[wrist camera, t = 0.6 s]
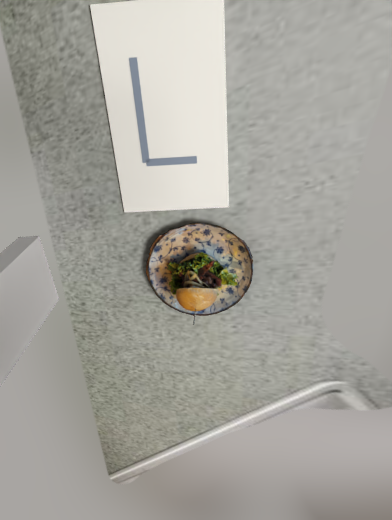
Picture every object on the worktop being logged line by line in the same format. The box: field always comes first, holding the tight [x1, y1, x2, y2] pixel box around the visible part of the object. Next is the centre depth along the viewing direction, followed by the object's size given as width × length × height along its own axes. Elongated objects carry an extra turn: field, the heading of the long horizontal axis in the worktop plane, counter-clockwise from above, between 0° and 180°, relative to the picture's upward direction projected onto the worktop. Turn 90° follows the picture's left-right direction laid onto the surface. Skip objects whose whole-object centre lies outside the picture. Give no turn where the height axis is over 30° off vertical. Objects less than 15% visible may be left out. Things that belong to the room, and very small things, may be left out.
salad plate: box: [146, 223, 253, 325], centre depth 37 cm, size 12×12×8 cm
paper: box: [90, 0, 229, 212], centre depth 33 cm, size 18×11×1 cm, turn 4°
